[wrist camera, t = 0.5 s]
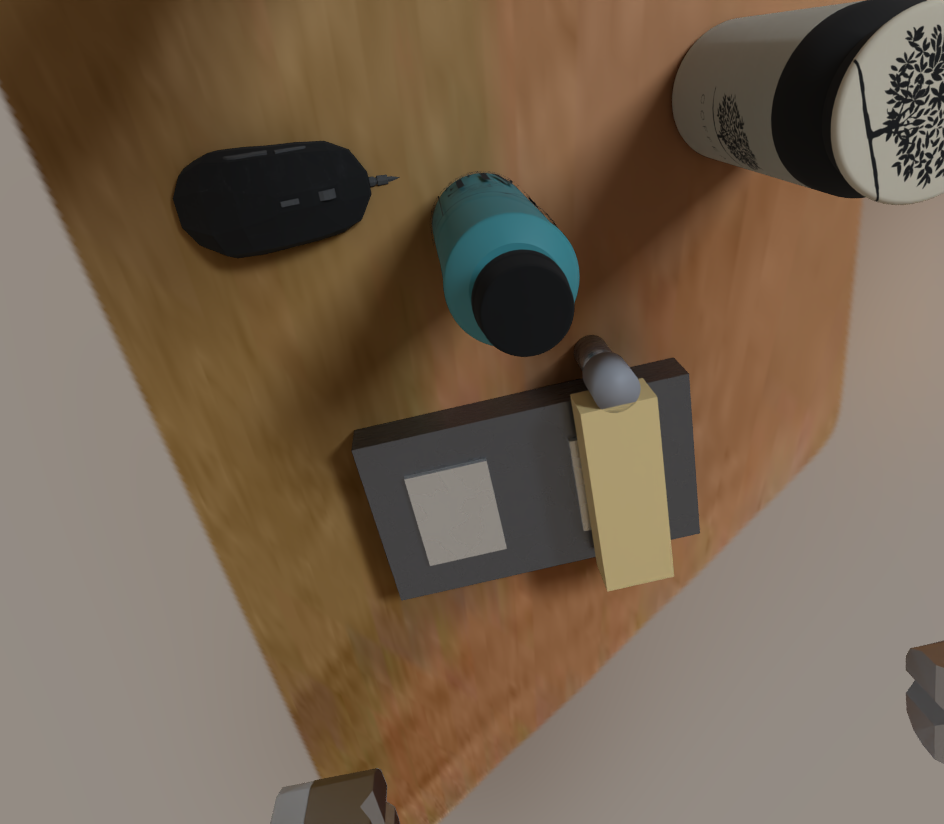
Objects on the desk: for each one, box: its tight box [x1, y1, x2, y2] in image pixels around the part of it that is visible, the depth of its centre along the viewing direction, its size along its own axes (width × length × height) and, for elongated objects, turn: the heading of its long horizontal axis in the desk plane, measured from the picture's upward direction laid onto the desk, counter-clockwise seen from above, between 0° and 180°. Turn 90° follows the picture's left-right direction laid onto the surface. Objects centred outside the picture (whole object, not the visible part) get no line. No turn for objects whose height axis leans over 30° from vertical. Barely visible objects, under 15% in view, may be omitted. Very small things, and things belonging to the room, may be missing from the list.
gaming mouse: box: [173, 141, 400, 258], centre depth 42 cm, size 6×15×4 cm, turn 98°
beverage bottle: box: [430, 171, 580, 357], centre depth 36 cm, size 6×7×20 cm
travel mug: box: [672, 0, 944, 205], centre depth 35 cm, size 8×8×18 cm
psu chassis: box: [352, 335, 700, 600], centre depth 52 cm, size 17×24×4 cm
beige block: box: [570, 352, 674, 591], centre depth 48 cm, size 18×5×3 cm, turn 12°
